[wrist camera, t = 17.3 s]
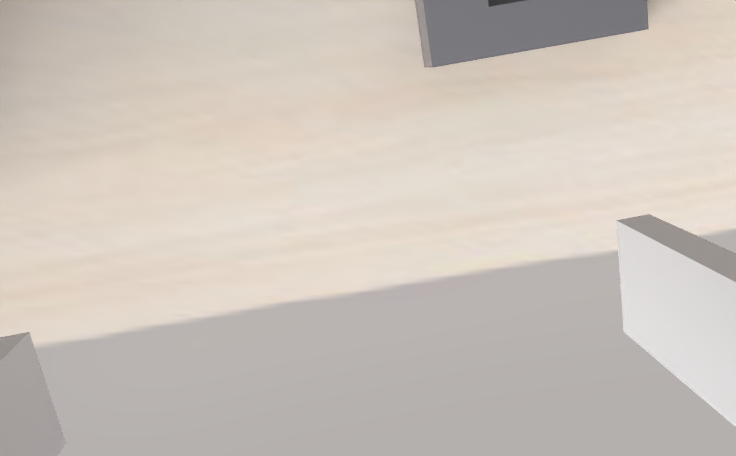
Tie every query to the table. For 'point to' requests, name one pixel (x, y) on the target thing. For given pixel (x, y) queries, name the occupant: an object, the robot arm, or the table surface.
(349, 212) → the table surface
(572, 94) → the table surface
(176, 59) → the table surface
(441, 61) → the socket
